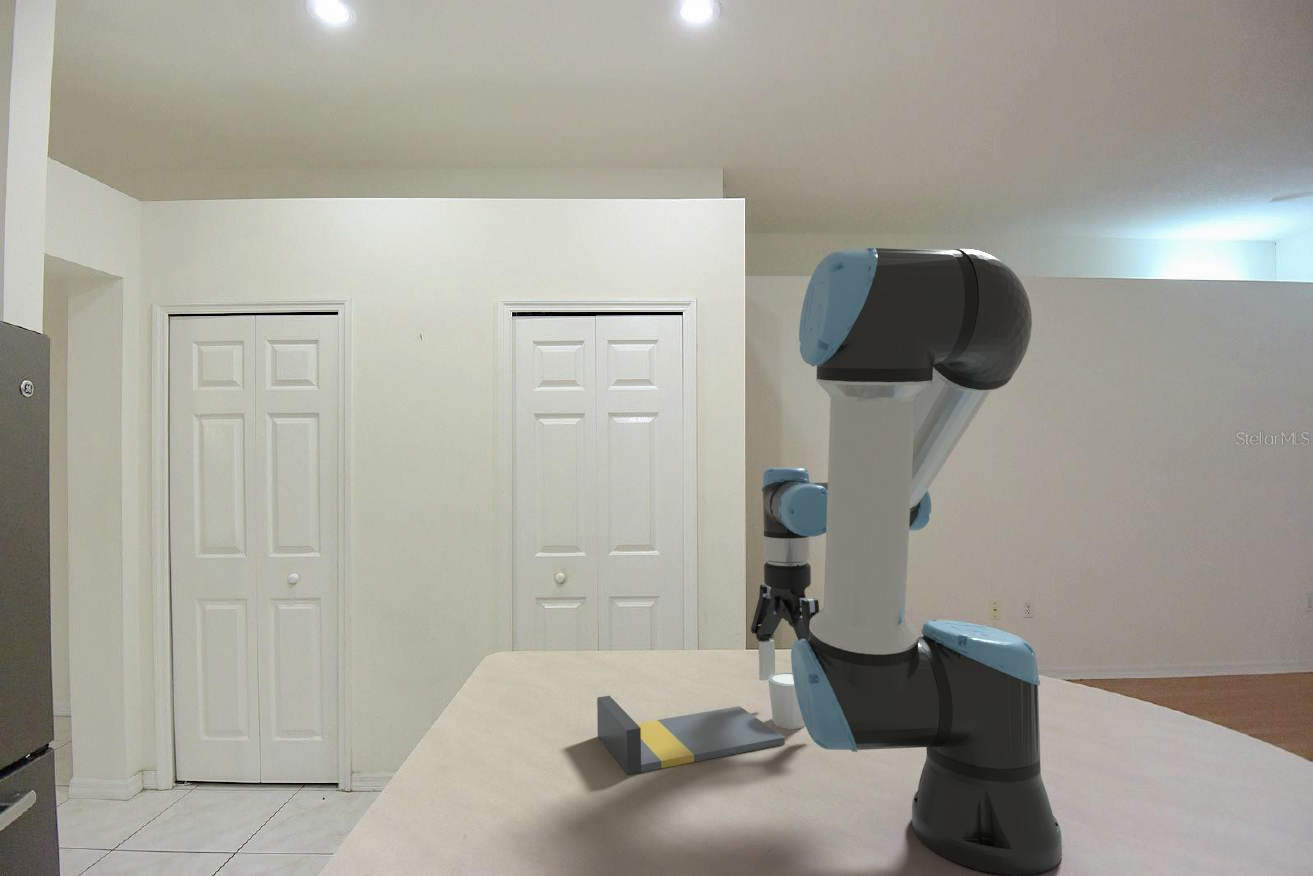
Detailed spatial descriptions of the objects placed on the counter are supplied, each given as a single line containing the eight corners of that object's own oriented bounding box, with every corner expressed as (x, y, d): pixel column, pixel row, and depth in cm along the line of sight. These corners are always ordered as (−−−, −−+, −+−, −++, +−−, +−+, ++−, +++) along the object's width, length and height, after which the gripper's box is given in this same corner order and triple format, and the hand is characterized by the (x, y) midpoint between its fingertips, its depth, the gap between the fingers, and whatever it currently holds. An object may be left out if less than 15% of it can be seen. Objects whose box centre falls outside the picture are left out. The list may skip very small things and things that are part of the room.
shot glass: (816, 730, 106) (815, 685, 107) (772, 730, 106) (771, 685, 107) (807, 714, 113) (806, 671, 113) (766, 714, 113) (765, 672, 114)
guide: (784, 744, 101) (784, 703, 101) (627, 775, 92) (626, 730, 92) (739, 712, 114) (738, 676, 114) (597, 736, 105) (597, 697, 105)
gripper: (854, 572, 101) (857, 716, 100) (767, 549, 124) (768, 666, 123) (812, 576, 98) (814, 724, 97) (730, 552, 121) (732, 671, 121)
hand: (789, 692), depth 110 cm, fingers open, 13 cm apart
